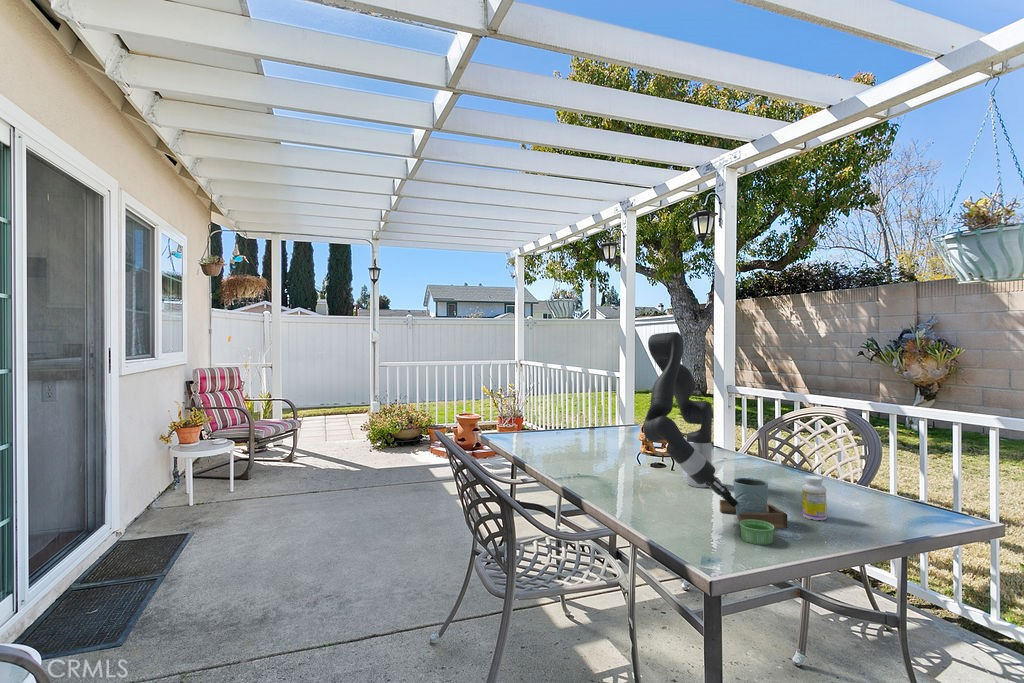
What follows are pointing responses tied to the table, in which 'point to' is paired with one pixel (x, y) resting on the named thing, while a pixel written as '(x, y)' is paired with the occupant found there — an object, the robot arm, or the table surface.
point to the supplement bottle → (814, 498)
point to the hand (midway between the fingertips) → (734, 504)
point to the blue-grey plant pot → (750, 495)
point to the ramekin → (757, 531)
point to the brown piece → (759, 515)
